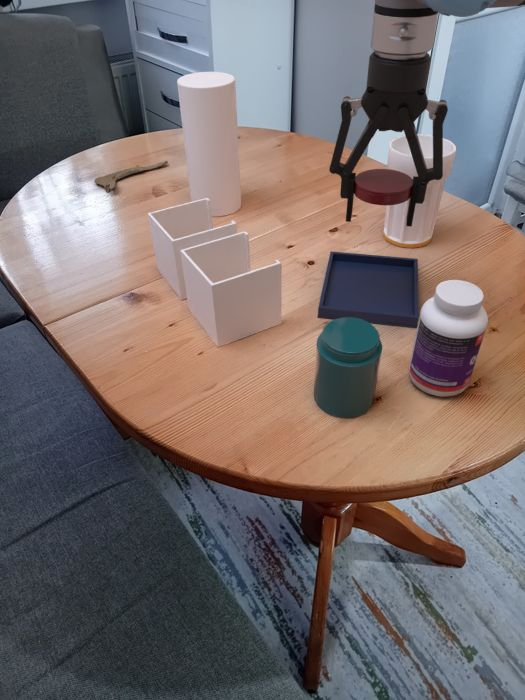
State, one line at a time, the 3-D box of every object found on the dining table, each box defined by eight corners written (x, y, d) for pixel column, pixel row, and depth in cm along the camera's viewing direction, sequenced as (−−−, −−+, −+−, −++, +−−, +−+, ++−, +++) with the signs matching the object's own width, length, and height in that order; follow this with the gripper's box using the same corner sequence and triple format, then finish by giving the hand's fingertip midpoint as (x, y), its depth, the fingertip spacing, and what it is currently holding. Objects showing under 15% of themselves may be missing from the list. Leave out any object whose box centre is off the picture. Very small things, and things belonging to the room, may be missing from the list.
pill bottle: (471, 403, 70) (501, 315, 61) (408, 397, 71) (428, 309, 62) (464, 362, 76) (490, 276, 67) (406, 357, 77) (423, 271, 68)
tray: (416, 328, 82) (418, 317, 81) (317, 317, 85) (318, 307, 83) (415, 268, 95) (417, 258, 93) (329, 260, 97) (330, 251, 96)
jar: (372, 422, 68) (382, 360, 61) (309, 413, 69) (312, 351, 62) (375, 379, 74) (385, 317, 67) (317, 371, 75) (321, 311, 68)
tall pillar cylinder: (242, 194, 119) (236, 70, 103) (239, 216, 111) (232, 86, 95) (195, 194, 120) (181, 71, 103) (188, 217, 112) (172, 87, 95)
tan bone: (84, 191, 124) (81, 182, 122) (142, 161, 137) (140, 153, 136) (113, 195, 119) (110, 186, 118) (170, 165, 133) (168, 156, 132)
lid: (404, 180, 82) (406, 167, 80) (418, 204, 75) (420, 191, 74) (349, 181, 82) (350, 169, 80) (358, 206, 75) (359, 193, 74)
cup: (400, 216, 110) (414, 129, 98) (449, 236, 103) (469, 145, 92) (365, 236, 104) (375, 145, 92) (413, 257, 97) (431, 163, 86)
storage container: (157, 269, 96) (147, 213, 89) (212, 252, 100) (207, 197, 93) (218, 347, 80) (211, 285, 73) (281, 323, 84) (281, 263, 77)
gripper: (311, 57, 65) (306, 226, 80) (493, 62, 62) (452, 237, 77) (319, 43, 71) (312, 203, 86) (486, 47, 67) (449, 213, 82)
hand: (378, 219), depth 81 cm, fingers closed on lid, 8 cm apart
